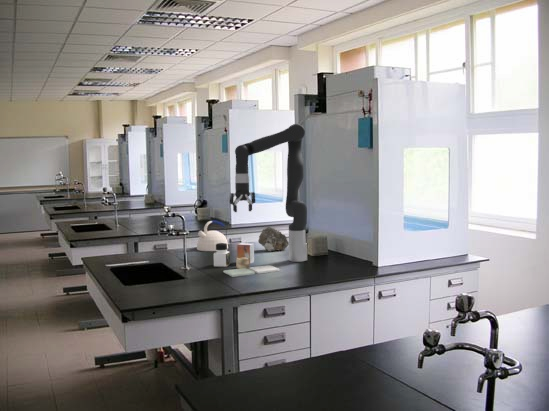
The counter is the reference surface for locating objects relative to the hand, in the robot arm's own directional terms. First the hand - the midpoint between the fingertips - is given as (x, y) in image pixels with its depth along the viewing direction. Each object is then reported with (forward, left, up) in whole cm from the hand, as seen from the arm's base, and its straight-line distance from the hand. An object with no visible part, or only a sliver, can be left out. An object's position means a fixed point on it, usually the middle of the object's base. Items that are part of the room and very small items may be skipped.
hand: (242, 211), depth 304 cm
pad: (-1, +24, -28) cm, 37 cm away
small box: (-1, 0, -29) cm, 29 cm away
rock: (-32, -28, -29) cm, 51 cm away
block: (+6, +12, -28) cm, 31 cm away
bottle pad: (+13, +24, -28) cm, 39 cm away
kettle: (-1, -55, -29) cm, 62 cm away
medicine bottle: (+13, 0, -29) cm, 31 cm away
